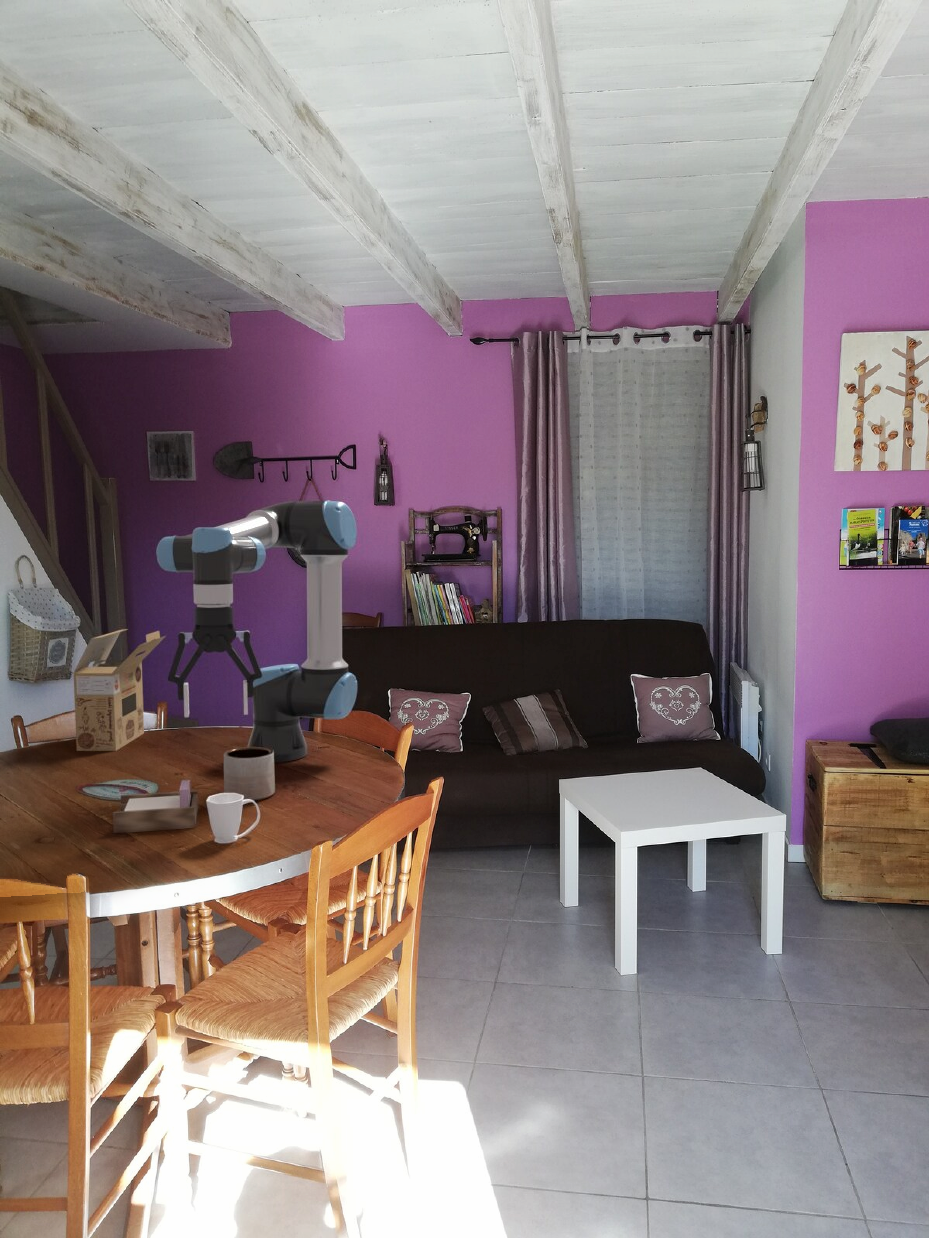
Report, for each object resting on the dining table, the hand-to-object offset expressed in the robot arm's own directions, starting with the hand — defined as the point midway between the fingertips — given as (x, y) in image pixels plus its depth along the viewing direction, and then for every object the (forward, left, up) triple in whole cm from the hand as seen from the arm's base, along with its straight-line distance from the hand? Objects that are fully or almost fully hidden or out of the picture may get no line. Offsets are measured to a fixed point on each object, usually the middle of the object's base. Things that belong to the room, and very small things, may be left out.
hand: (216, 714), depth 184 cm
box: (+28, -73, -21) cm, 81 cm away
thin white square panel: (+12, 0, -18) cm, 22 cm away
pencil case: (+12, 0, -21) cm, 24 cm away
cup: (-3, +14, -21) cm, 26 cm away
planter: (-6, -14, -21) cm, 26 cm away
